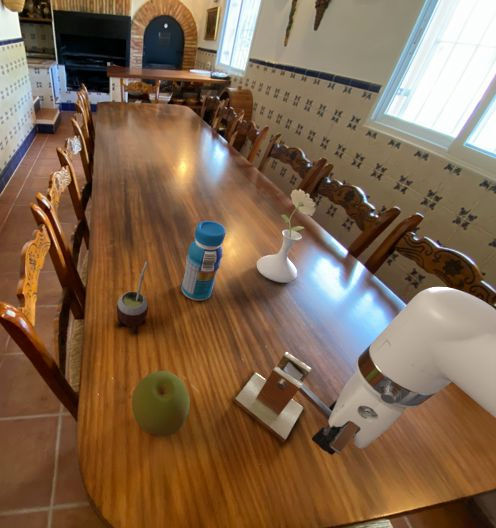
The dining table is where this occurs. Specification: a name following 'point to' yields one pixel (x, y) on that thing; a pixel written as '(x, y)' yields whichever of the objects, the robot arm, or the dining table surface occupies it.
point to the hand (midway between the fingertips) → (328, 431)
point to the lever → (308, 392)
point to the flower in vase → (286, 243)
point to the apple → (160, 403)
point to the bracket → (274, 398)
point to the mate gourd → (132, 307)
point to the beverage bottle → (203, 260)
